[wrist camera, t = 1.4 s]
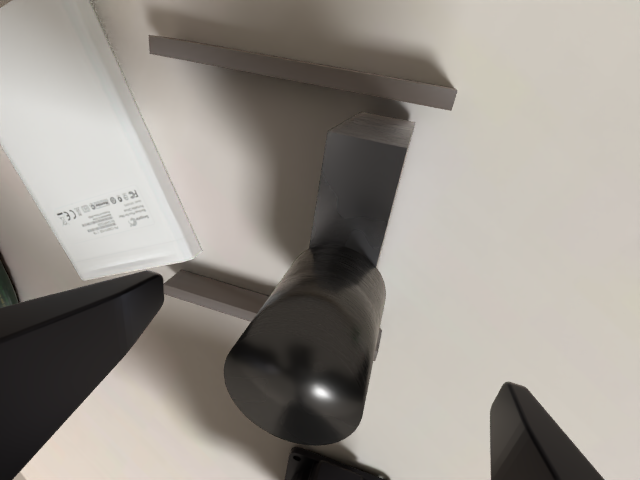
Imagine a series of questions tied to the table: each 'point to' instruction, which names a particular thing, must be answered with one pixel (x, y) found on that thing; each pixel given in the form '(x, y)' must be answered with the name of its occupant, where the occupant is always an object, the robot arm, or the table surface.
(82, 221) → the external hard drive
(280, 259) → the table surface
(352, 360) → the clamp jaw
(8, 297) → the coffee jar
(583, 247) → the table surface
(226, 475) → the table surface
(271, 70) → the base
